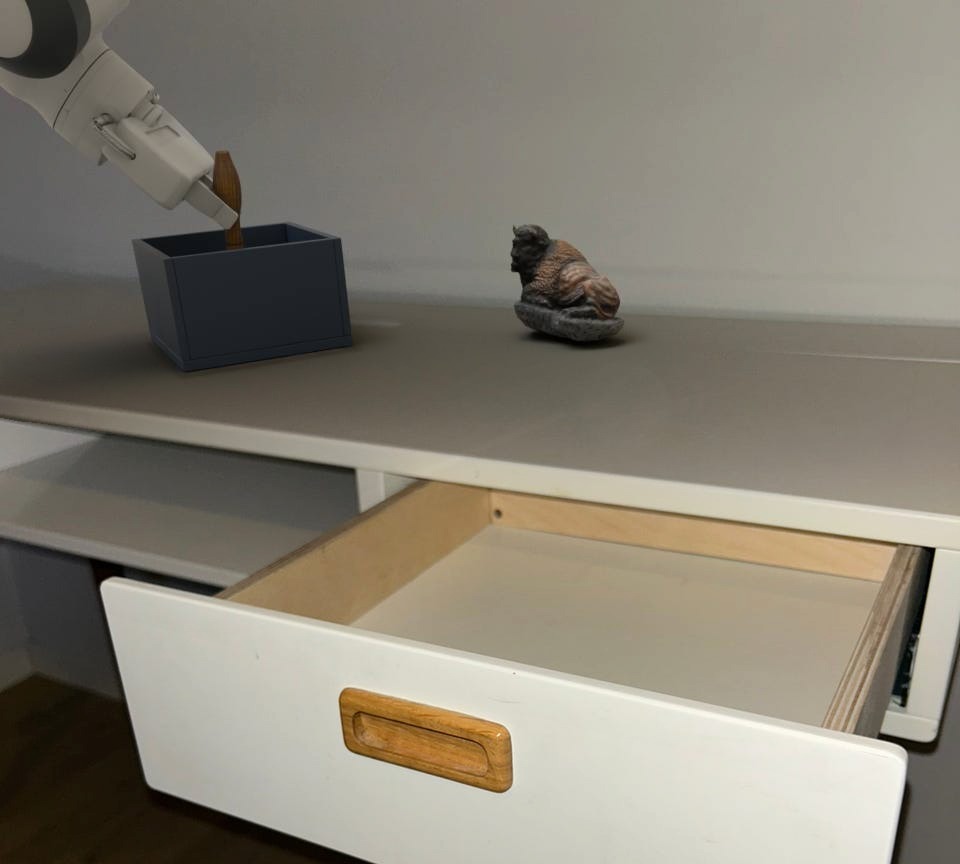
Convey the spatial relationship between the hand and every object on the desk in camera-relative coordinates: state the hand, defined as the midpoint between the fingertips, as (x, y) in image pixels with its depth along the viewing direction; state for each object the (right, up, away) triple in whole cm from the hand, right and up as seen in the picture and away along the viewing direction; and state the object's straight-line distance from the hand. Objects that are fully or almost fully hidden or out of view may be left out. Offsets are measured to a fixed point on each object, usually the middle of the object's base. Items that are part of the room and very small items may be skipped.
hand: (236, 220), depth 103 cm
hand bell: (0, -9, +5) cm, 10 cm away
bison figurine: (+32, -12, 0) cm, 34 cm away
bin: (0, -10, +5) cm, 12 cm away
